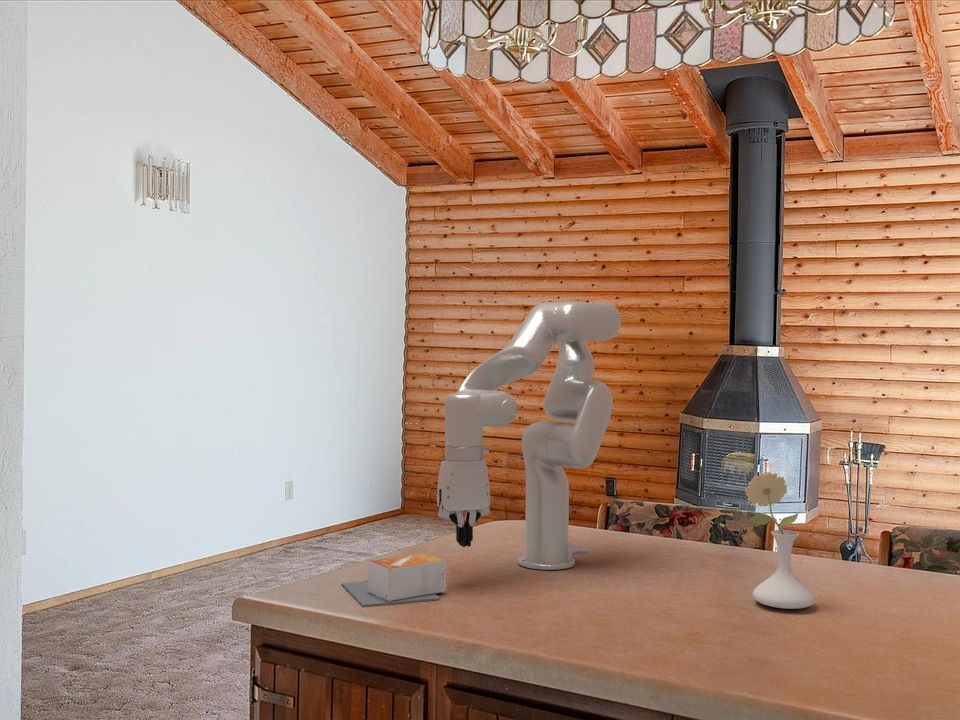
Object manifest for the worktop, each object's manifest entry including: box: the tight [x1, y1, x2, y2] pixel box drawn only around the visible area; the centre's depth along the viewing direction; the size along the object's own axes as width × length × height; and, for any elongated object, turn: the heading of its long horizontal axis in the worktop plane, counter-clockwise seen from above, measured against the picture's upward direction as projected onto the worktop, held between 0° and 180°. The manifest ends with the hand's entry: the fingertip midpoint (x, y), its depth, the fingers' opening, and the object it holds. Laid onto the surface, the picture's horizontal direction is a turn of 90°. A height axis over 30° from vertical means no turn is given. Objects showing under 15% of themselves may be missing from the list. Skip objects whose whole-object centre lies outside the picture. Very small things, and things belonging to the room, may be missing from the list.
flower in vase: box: [744, 471, 817, 610], centre depth 178 cm, size 13×11×25 cm
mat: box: [341, 580, 441, 608], centre depth 185 cm, size 15×17×1 cm
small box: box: [367, 552, 447, 601], centre depth 183 cm, size 8×6×13 cm
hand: (464, 545), depth 191 cm, fingers closed
